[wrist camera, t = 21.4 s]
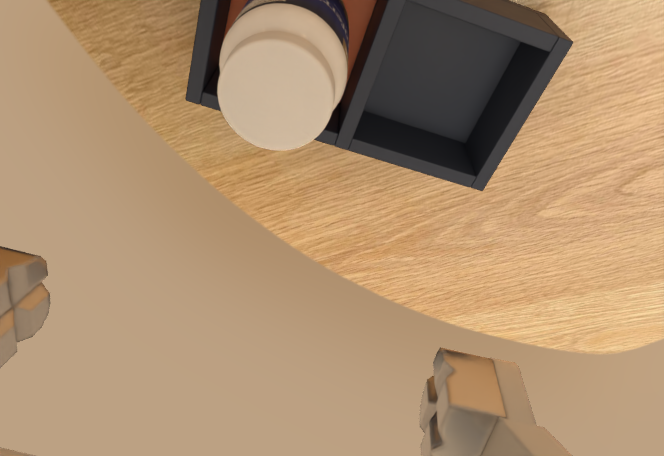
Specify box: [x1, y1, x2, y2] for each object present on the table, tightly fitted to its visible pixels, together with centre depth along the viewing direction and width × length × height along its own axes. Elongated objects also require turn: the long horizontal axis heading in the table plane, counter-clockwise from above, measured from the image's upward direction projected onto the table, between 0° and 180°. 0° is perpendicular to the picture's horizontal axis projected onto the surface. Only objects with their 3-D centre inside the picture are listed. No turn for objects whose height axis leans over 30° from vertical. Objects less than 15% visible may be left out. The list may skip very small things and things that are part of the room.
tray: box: [186, 0, 573, 191], centre depth 28 cm, size 17×9×5 cm, turn 72°
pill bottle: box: [217, 0, 349, 151], centre depth 24 cm, size 6×6×10 cm
